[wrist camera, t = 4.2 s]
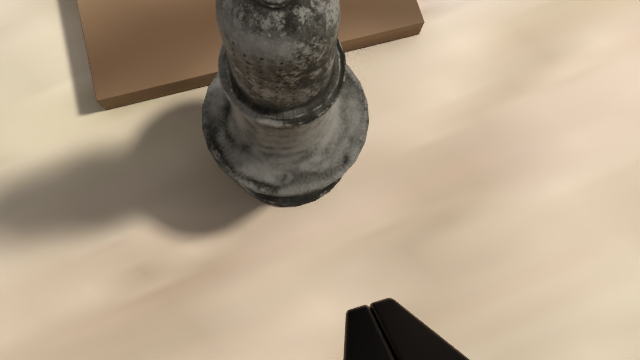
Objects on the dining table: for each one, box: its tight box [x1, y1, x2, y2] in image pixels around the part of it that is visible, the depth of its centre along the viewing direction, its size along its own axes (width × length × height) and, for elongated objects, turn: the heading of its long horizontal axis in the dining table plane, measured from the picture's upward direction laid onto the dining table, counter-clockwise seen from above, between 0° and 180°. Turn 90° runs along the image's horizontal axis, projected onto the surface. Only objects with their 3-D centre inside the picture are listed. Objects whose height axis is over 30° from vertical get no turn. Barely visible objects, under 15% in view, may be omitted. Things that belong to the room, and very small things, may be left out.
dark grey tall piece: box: [202, 0, 369, 207], centre depth 15 cm, size 6×6×12 cm
